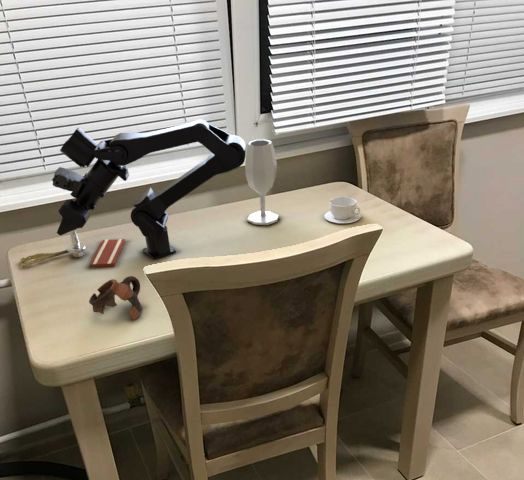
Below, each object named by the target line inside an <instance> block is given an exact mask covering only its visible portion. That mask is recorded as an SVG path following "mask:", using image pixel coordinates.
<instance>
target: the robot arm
mask: <svg viewBox="0 0 524 480" xmlns="http://www.w3.org/2000/svg"><path fill="white" fill-rule="evenodd" d="M194 143H199V144H201V145H202V146H203V147H205V148H206V149H207V150H208V151H209V152H210V154H208V156H207V158H205V159H204V160H202V161H200V163H198V164H196V165H195V166H194V167H192V168H191V169H189V170H188V171H186V172H185V173H184V174H182V175H181V176H179V177H178V178H176V179H175V180H173V182H171V183H169V184H168V185H167V186H165V187H164V188H162V189H160V190H157V191H154V190H153V188H152V187H149V188H148V189H147V190H146V191H145V192H144V193H142V194H138V195H137V197H136V199H135V202H134V204H133V208H132V210H131V212H130V220H131V222H132V224H133V225H134V226H136V227H137V228H138V229H139V231H140V233H141V234H142V236H143V237H144V239H145V245H146V247H145V248H142V250H141V251H142V252H143V253H145V255H147V256H148V257H150V258H152V259H154V260H155V259H159V258H162V257H165V256H167V255H170V254H173V253H177V249H176V248H175V247H173V246H171V245H170V244H171V243H170V239H169V238H170V237H169V231H168V226H167V225H166V224H167V222H168V219H169V213H168V212H166V211H167V210H168V209H169V208H170V207H171V206H173V205H174V204H175V203H177V202H179V201H180V200H181V199H184V197H186V196H187V195H189V194H190V193H191V192H194V191H195V190H196V189H198V188H199V187H201V186H202V185H204V184H205V183H206V182H208V181H209V180H211V179H212V178H214V177H215V176H218V175H223V174H227V173H230V172H232V171H234V170H235V169H239V168H240V167H241V166H243V164H245V161H246V152H247V145H246V142H245V141H244V139H243V138H242V137H240V136H238V135H235V134H230V133H228V132H226V131H225V130H223V129H221V128H218V127H216V126H215V125H212V124H211V123H209V122H208V121H207V120H204V119H197V120H194V121H192V122H187V123H183V124H179V125H176V126H172V127H167V128H163V129H158V130H154V131H150V132H136V131H132V132H131V131H130V132H129V131H128V132H119V133H118V134H116V135H114V137H113V138H110V139H105V140H101V141H99V143H98V142H97V141H95V140H94V139H92V138H91V137H90V136H89V135H88V134H87V133H86V132H85V131H84V130H83V129H82V128H80V127H77V128H76V129H74V131H73V133H72V134H71V135H70V137H69V138H68V139H66V141H65V142H64V143H63V145H61V148H60V149H59V152H60V153H62V154H63V155H64V156H66V157H67V158H68V159H70V160H71V161H72V162H73V163H75V164H76V165H77V166H78V167H80V168H85V167H87V168H89V166H90V165H91V164H92V163H93V161H94V160H95V159H96V161H95V162H94V164H92V167H91V168H90V169H89V170H88V172H86V173H85V174H84V175H82V174H79V173H78V172H75V171H73V170H71V169H68V168H65V167H63V166H60V167H57V169H55V171H54V175H53V177H52V179H51V181H52V186H53V187H55V188H58V189H62V190H64V191H68V192H70V196H71V197H72V198H74V199H75V200H73V199H66V200H65V201H64V203H62V205H61V206H60V207H59V209H58V213H59V215H60V216H61V219H60V220H61V221H60V223H59V225H58V228H57V231H56V234H57V235H59V236H64V235H66V234H69V232H70V231H73V230H75V229H76V230H78V229H83V228H84V226H85V225H86V224H87V222H88V221H89V219H90V218H91V217H90V212H89V211H90V210H91V211H94V210H95V208H96V207H97V205H98V204H99V202H100V201H101V200H102V199H103V198H104V196H105V195H106V193H107V192H108V191H109V189H110V188H111V187H112V185H113V184H114V183H115V182H116V180H117V179H118V178H120V179H121V180H123V181H124V182H126V181H127V180H128V178H129V176H130V173H129V169H128V168H129V166H128V165H130V164H132V163H134V162H136V161H138V160H140V159H141V158H144V157H145V156H147V155H149V154H153V153H156V152H160V151H165V150H169V149H172V148H178V147H182V146H186V145H190V144H194ZM76 230H75V231H76Z"/></svg>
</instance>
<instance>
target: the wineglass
mask: <svg viewBox="0 0 524 480" xmlns="http://www.w3.org/2000/svg"><path fill="white" fill-rule="evenodd" d="M244 165H245V166H244V172H245V179H246V181H247V184H248V187H249V188H251V189H252V190H253V191H254V192H256V193H257V194H258V195H259V207H260V209H259V210H258V211H255V212H253V213H250V214H249V216H248V217H247V219H246V221H247V222H249V223H251V224H253V225H255V226H269V225H272V224H275V223H277V222H278V221H279V218H280V214H278V213H276V212H274V211H268V210H267V211H266V194H267V193H268V192H269V191H270V190H271V188H273V186H274V185H275V183H276V179H277V174H278V163H277V156H276V149H275V148H274V144H273V141H271V140H269V139H254V140H251V141H249V142H248V144H247V147H246V156H245V161H244Z"/></svg>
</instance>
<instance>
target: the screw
mask: <svg viewBox="0 0 524 480" xmlns="http://www.w3.org/2000/svg"><path fill="white" fill-rule="evenodd" d="M68 235H69V237H70V241H71V244H69V245H68V246H67V247H66V250H67V251H68V252H69V253H70V254H72V256H73V258H81V257H83V256H85V254H84V251H85V250H87V248H88V247H87V244H85V243H82V242H80V240H79V236H78V233H77V229H75V230H73V231H70V232H68ZM69 253H68V254H69Z"/></svg>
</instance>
